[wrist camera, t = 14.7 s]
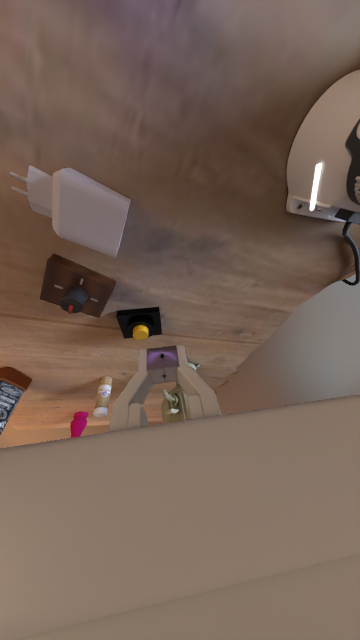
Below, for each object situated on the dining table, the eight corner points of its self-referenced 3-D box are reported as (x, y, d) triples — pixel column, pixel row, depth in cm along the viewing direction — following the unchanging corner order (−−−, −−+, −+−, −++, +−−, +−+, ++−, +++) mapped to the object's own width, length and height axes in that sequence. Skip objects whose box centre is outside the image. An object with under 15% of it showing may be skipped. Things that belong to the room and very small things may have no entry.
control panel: (115, 280, 38) (114, 288, 36) (101, 310, 43) (99, 318, 41) (53, 253, 32) (47, 260, 30) (45, 291, 37) (39, 299, 35)
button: (147, 324, 44) (147, 329, 42) (149, 333, 47) (149, 339, 45) (131, 325, 43) (131, 331, 42) (134, 335, 46) (134, 341, 45)
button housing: (158, 306, 45) (159, 316, 42) (161, 329, 51) (162, 339, 48) (117, 310, 44) (115, 321, 41) (125, 333, 50) (123, 343, 47)
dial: (67, 282, 33) (60, 295, 30) (89, 290, 35) (84, 302, 32) (65, 297, 35) (57, 310, 32) (85, 303, 37) (80, 316, 34)
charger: (17, 138, 22) (131, 199, 28) (23, 212, 27) (118, 249, 33) (-7, 134, 18) (129, 204, 25) (6, 220, 24) (115, 260, 30)
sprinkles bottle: (112, 375, 66) (106, 412, 56) (112, 381, 69) (107, 417, 59) (99, 376, 65) (92, 413, 55) (100, 381, 68) (93, 418, 58)
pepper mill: (75, 411, 84) (60, 462, 70) (90, 411, 87) (79, 460, 73) (72, 416, 88) (58, 465, 74) (86, 416, 91) (76, 463, 77)
